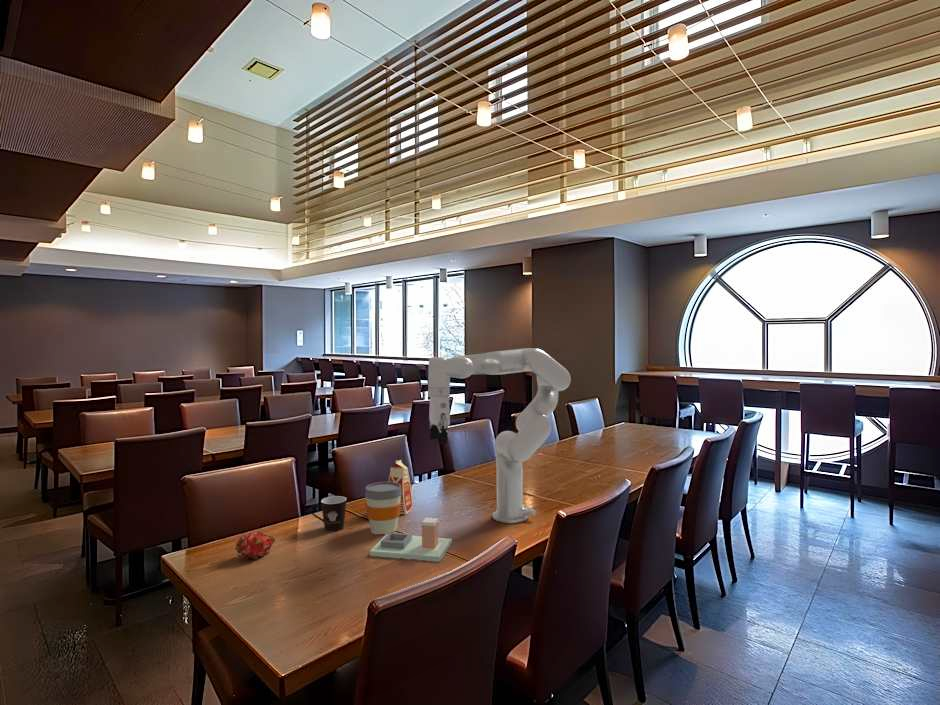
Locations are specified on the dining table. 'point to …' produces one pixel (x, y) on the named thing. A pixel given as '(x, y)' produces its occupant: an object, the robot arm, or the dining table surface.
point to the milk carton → (402, 485)
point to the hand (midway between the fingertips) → (438, 441)
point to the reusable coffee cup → (383, 506)
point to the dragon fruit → (254, 545)
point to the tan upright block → (430, 533)
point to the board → (409, 547)
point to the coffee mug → (332, 512)
